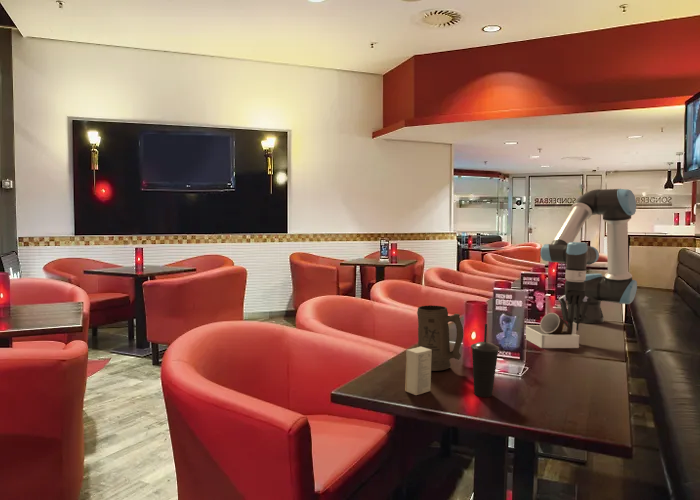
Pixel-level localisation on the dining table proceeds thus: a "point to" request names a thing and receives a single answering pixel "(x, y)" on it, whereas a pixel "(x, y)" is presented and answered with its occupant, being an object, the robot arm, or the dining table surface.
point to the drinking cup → (484, 366)
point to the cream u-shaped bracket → (550, 338)
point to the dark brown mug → (554, 325)
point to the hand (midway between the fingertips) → (572, 338)
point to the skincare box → (418, 370)
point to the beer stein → (438, 335)
